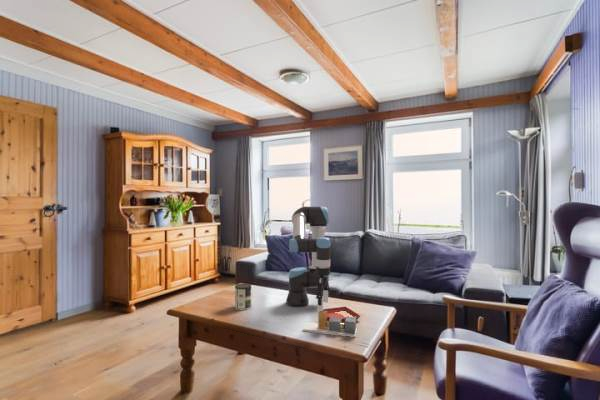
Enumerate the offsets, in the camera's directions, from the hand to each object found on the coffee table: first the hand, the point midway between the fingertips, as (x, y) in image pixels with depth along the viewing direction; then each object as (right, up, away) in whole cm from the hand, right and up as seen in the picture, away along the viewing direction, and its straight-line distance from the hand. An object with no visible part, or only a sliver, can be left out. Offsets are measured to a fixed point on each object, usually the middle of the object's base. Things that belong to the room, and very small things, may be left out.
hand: (322, 306), depth 167 cm
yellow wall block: (+7, -11, -2) cm, 13 cm away
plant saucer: (+11, -13, +17) cm, 24 cm away
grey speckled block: (+6, -12, -2) cm, 14 cm away
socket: (+14, -12, -5) cm, 19 cm away
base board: (+4, -12, -2) cm, 13 cm away
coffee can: (-49, -12, +34) cm, 60 cm away
